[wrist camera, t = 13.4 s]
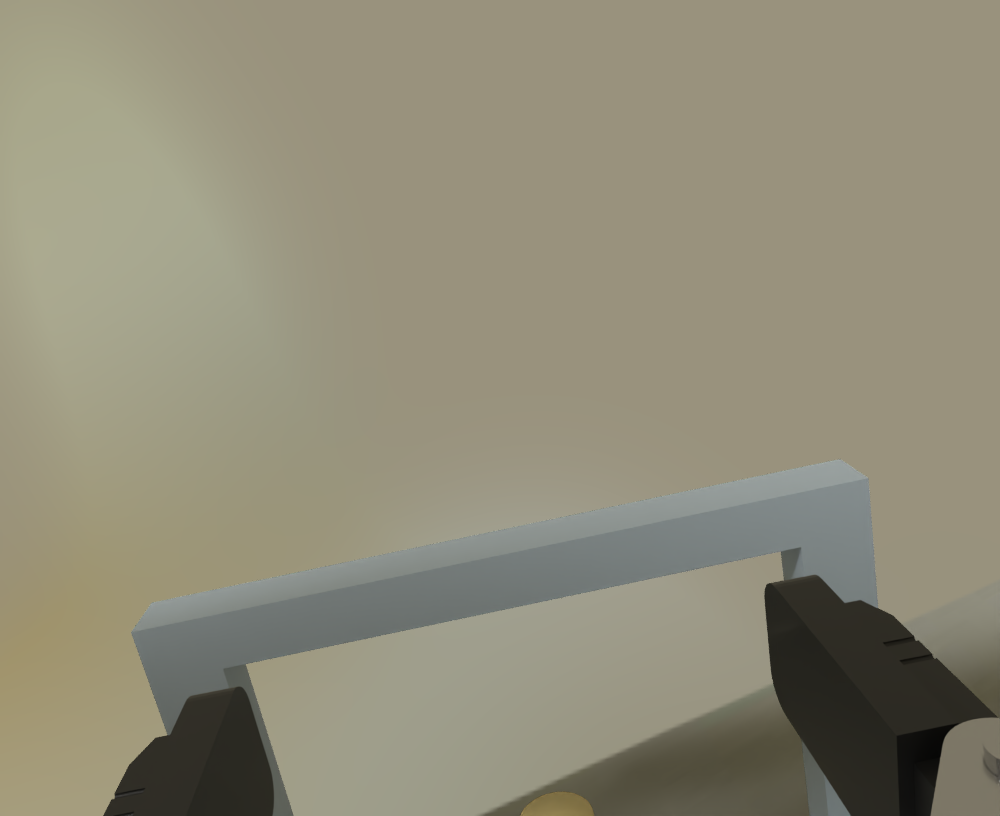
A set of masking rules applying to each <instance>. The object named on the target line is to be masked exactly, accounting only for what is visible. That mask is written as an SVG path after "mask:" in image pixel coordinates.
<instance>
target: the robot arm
mask: <svg viewBox="0 0 1000 816" xmlns="http://www.w3.org/2000/svg"><path fill="white" fill-rule="evenodd" d="M765 609H766V620H767V631H768V643H769V654H770V664H771V674H772V679H773V684H774V687H775V691H776V694H777V697H778V700H779V702H780V705H781V707H782V709H783V711H784V713H785V714H786V716H787V718H788V719H789V721H790V722H791V724H792V725H793V727H794V729H795V730H796V732H797V733H798V735H799V736H800V738H801V739H802V741H803V742H804V744H805V746H806V747H807V749H808V750H809V752H810V753H811V755H812V756H813V758H814V760H815V761H816V763H817V764H818V766H819V767H820V769H821V770H822V772H823V773H824V775H825V777H826V778H827V780H828V781H829V783H830V784H831V786H832V787H833V789H834V790H835V792H836V794H837V795H838V797H839V798H840V800H841V801H842V803H843V804H844V806H845V807H846V809H847V811H848V812H849V814H850V815H851V816H1000V718H998V717H997V716H996V715H995V714H994V713H993V712H992V711H991V710H989V709H988V708H987V707H986V706H985V705H984V704H983V703H982V702H981V701H980V700H979V699H978V698H977V697H976V696H975V695H974V694H973V693H972V692H971V691H970V690H969V689H968V688H967V687H966V686H965V685H964V684H963V683H962V682H961V681H960V680H959V679H958V678H957V677H955V676H954V675H953V674H952V673H951V672H950V671H949V670H948V669H947V668H946V667H945V666H944V665H943V664H942V663H941V662H940V661H939V660H938V659H937V658H936V659H934V658H933V656H932V653H931V652H930V651H929V650H928V649H927V648H926V647H925V646H924V645H923V644H922V643H920V642H919V641H915V638H914V636H913V635H912V634H911V633H910V632H909V631H908V630H907V629H906V628H905V627H904V626H903V625H902V624H901V623H900V622H899V621H898V620H897V619H896V618H895V617H894V616H892V615H891V614H888V613H886V612H885V611H882V610H880V609H878V608H876V607H874V606H872V605H870V604H868V603H866V602H864V601H862V600H857V601H852V602H847V603H844V602H843V601H842V599H841V598H840V597H839V596H838V595H837V594H836V593H835V592H834V591H833V590H832V589H831V588H830V587H829V586H828V585H827V584H826V583H825V582H824V581H823V579H822V578H820V577H819V576H818V575H809V576H804V577H799V578H794V579H789V580H784V581H780V582H774V583H769V584H767V585H766V588H765ZM273 809H274V786H273V778H272V773H271V769H270V765H269V762H268V759H267V756H266V752H265V749H264V746H263V743H262V739H261V736H260V733H259V730H258V726H257V723H256V720H255V717H254V713H253V710H252V707H251V704H250V701H249V698H248V695H247V693H246V691H245V690H244V689H243V688H242V687H240V686H238V687H233V688H228V689H223V690H218V691H213V692H208V693H203V694H198V695H192V696H190V697H189V698H188V699H187V700H186V702H185V704H184V706H183V708H182V710H181V712H180V715H179V717H178V719H177V721H176V723H175V725H174V727H173V730H172V732H171V734H170V735H167V736H162V737H158V738H155V739H154V740H153V741H152V742H151V743H150V744H149V745H148V746H147V747H146V748H145V750H143V752H141V754H140V755H139V756H138V757H137V758H136V759H135V760H134V761H133V762H132V763H131V764H130V765H129V766H128V769H127V770H126V772H125V774H124V776H123V778H122V780H121V782H120V784H119V786H118V788H117V790H116V792H115V799H112V800H111V802H110V804H109V806H108V808H107V810H106V812H105V813H104V815H103V816H272V815H273Z"/></svg>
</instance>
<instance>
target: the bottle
mask: <svg viewBox="0 0 1000 816" xmlns="http://www.w3.org/2000/svg"><path fill="white" fill-rule="evenodd" d="M520 816H594V812H593V809H592V807H591V805H590V804H589V802H588V801H587V800H586V799H585V798H583V797H582V796H580V795H577V794H574V793H570V792H553V793H548V794H545V795H542V796H540V797H538V798H536V799H535V800H533V801H532V802H530V803H529V804H528V805H527V806H526V807H525V808H524V810H523V811H522V813H521V815H520Z"/></svg>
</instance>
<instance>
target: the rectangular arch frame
mask: <svg viewBox="0 0 1000 816" xmlns="http://www.w3.org/2000/svg"><path fill="white" fill-rule="evenodd" d="M780 551H781V556H782V567H783V576H784V580H789V579H794V578H799V577H804V576H809V575H818V576H819V577H820V578H822V579H823V581H824V582H825V583H826V584H827V585H828V586H829V587H830V588H831V589H832V590H833V591H834V592H835V593H836V594H837V595H838V596H839V597H840V598H841V599H842V601H843V602H844V603H847V602H852V601H857V600H862V601H864V602H866V603H868V604H870V605H872V606H874V607H876V608H878V600H877V587H876V574H875V561H874V547H873V534H872V521H871V507H870V493H869V481H868V478H867V477H866V476H864V475H863V474H862V473H860V472H859V471H857V470H855V469H854V468H852V467H851V466H850V465H848V464H847V463H845V462H844V461H842V460H841V459H839V460H834V461H829V462H824V463H820V464H814V465H810V466H805V467H800V468H795V469H790V470H786V471H781V472H776V473H771V474H766V475H762V476H757V477H752V478H747V479H743V480H738V481H733V482H728V483H723V484H719V485H714V486H709V487H705V488H699V489H695V490H690V491H685V492H680V493H676V494H671V495H666V496H661V497H656V498H652V499H647V500H642V501H637V502H633V503H628V504H623V505H618V506H613V507H609V508H603V509H599V510H594V511H589V512H585V513H580V514H575V515H570V516H566V517H560V518H556V519H551V520H546V521H541V522H537V523H532V524H527V525H522V526H517V527H512V528H508V529H503V530H498V531H493V532H488V533H484V534H479V535H474V536H469V537H464V538H460V539H455V540H450V541H445V542H440V543H436V544H431V545H426V546H422V547H417V548H412V549H407V550H402V551H397V552H393V553H388V554H383V555H378V556H374V557H369V558H364V559H359V560H354V561H350V562H345V563H340V564H335V565H331V566H325V567H321V568H316V569H311V570H306V571H302V572H297V573H292V574H287V575H282V576H278V577H273V578H268V579H263V580H258V581H254V582H249V583H244V584H239V585H234V586H230V587H225V588H220V589H215V590H210V591H206V592H201V593H196V594H191V595H186V596H182V597H177V598H172V599H167V600H163V601H158V602H153V603H151V604H150V606H149V608H148V609H147V610H146V612H145V613H144V615H143V616H142V617H141V619H140V620H139V622H138V623H137V625H136V626H135V628H134V629H133V631H132V632H131V633H132V636H133V639H134V642H135V644H136V647H137V650H138V653H139V656H140V659H141V661H142V664H143V667H144V670H145V673H146V675H147V678H148V681H149V683H150V687H151V690H152V692H153V695H154V698H155V701H156V703H157V706H158V709H159V712H160V714H161V718H162V720H163V723H164V726H165V729H166V731H167V734H168V735H170V734H171V732H172V730H173V727H174V725H175V723H176V721H177V719H178V717H179V715H180V712H181V710H182V708H183V706H184V704H185V702H186V700H187V699H188V698H189V697H190V696H192V695H198V694H203V693H208V692H213V691H218V690H223V689H228V688H233V687H238V686H240V687H242V688H243V689H244V690H245V691H246V693H247V695H248V698H249V701H250V704H251V707H252V710H253V713H254V717H255V720H256V723H257V726H258V730H259V733H260V736H261V739H262V743H263V746H264V749H265V752H266V756H267V759H268V762H269V765H270V769H271V773H272V778H273V786H274V809H273V815H272V816H293V813H292V810H291V806H290V803H289V800H288V797H287V794H286V790H285V787H284V784H283V781H282V778H281V775H280V772H279V768H278V765H277V762H276V759H275V756H274V752H273V749H272V746H271V743H270V740H269V737H268V734H267V730H266V727H265V724H264V721H263V718H262V715H261V711H260V708H259V705H258V702H257V699H256V696H255V693H254V689H253V686H252V683H251V680H250V677H249V673H248V670H247V667H246V664H248V663H253V662H258V661H262V660H267V659H272V658H277V657H281V656H286V655H291V654H296V653H300V652H305V651H310V650H315V649H319V648H323V647H329V646H334V645H338V644H343V643H348V642H353V641H357V640H362V639H367V638H372V637H376V636H381V635H386V634H390V633H395V632H400V631H405V630H410V629H414V628H419V627H424V626H429V625H433V624H438V623H443V622H447V621H452V620H457V619H462V618H467V617H471V616H476V615H481V614H485V613H490V612H495V611H499V610H505V609H509V608H514V607H519V606H523V605H529V604H533V603H538V602H542V601H548V600H552V599H557V598H562V597H566V596H571V595H576V594H581V593H586V592H590V591H595V590H599V589H605V588H609V587H614V586H619V585H624V584H628V583H633V582H638V581H643V580H647V579H652V578H656V577H661V576H666V575H671V574H676V573H680V572H685V571H690V570H694V569H699V568H704V567H709V566H713V565H718V564H723V563H727V562H733V561H738V560H742V559H747V558H752V557H757V556H761V555H766V554H771V553H775V552H780ZM801 741H802V739H801ZM802 750H803V759H804V769H805V778H806V787H807V796H808V805H809V814H810V816H851V815H850V814H849V812H848V811H847V809H846V807H845V806H844V804H843V803H842V801H841V800H840V798H839V797H838V795H837V794H836V792H835V790H834V789H833V787H832V786H831V784H830V783H829V781H828V780H827V778H826V777H825V775H824V773H823V772H822V770H821V769H820V767H819V766H818V764H817V763H816V761H815V760H814V758H813V756H812V755H811V753H810V752H809V750H808V749H807V747H806V746H805V744H804V742H803V741H802Z"/></svg>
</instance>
